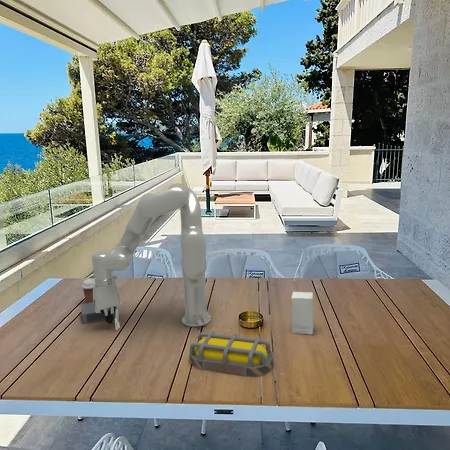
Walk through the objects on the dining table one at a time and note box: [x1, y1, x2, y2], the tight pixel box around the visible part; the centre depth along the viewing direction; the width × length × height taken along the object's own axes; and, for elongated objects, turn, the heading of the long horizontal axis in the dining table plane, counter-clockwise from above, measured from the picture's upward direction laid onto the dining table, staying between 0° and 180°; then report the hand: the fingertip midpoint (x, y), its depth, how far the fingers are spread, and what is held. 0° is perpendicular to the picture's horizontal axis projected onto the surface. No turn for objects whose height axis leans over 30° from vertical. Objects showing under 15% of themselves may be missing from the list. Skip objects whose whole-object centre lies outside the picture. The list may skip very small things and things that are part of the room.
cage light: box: [188, 331, 274, 378], centre depth 140 cm, size 15×8×30 cm
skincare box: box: [290, 291, 315, 335], centre depth 158 cm, size 8×7×16 cm
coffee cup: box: [80, 277, 95, 304], centre depth 194 cm, size 9×9×12 cm
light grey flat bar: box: [114, 308, 121, 331], centre depth 172 cm, size 2×13×4 cm, turn 13°
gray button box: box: [80, 302, 119, 325], centre depth 182 cm, size 14×15×5 cm
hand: (109, 322), depth 168 cm, fingers closed
